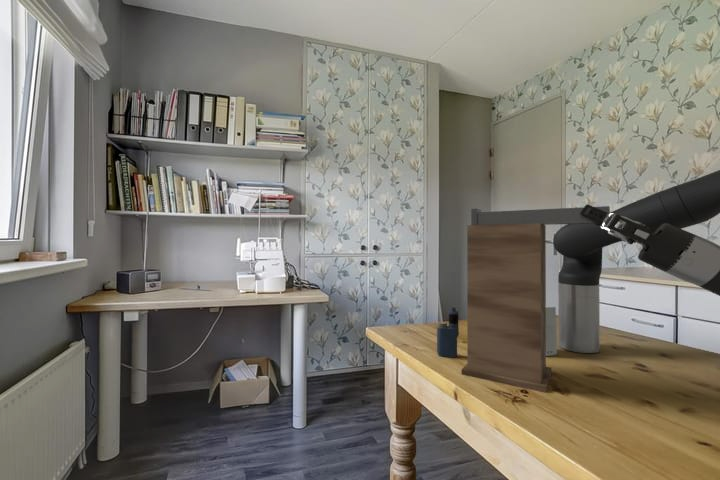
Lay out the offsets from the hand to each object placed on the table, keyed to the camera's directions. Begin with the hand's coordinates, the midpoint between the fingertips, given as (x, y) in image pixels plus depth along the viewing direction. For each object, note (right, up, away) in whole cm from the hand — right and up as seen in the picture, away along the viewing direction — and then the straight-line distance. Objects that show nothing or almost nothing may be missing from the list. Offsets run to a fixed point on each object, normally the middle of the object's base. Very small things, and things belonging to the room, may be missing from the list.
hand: (583, 211), depth 66 cm
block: (-7, -2, +5) cm, 9 cm away
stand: (-12, -34, +8) cm, 37 cm away
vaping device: (-21, -35, +19) cm, 45 cm away
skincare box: (+3, -35, +22) cm, 41 cm away
